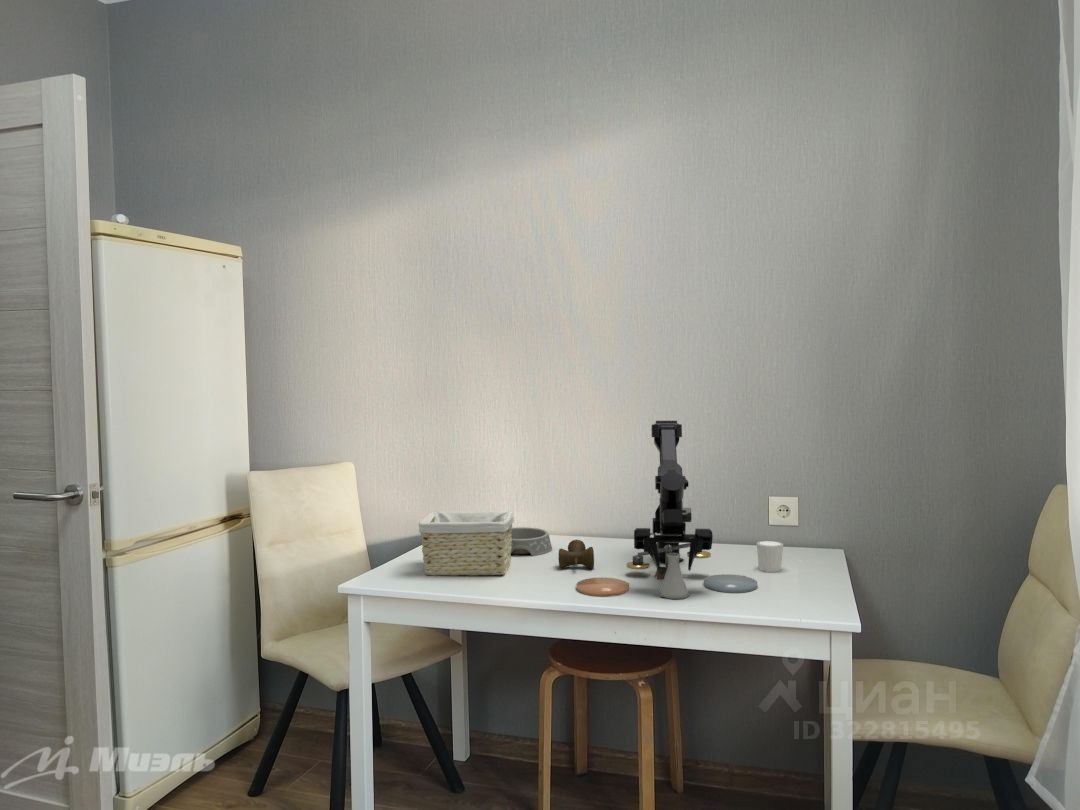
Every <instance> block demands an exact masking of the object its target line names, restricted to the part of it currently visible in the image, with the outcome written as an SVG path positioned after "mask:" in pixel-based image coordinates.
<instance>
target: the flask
mask: <svg viewBox="0 0 1080 810" xmlns="http://www.w3.org/2000/svg"><path fill="white" fill-rule="evenodd" d="M667 556H668V567H667V571H666V574H665V577H664V580H662V583H661V586H660V589H659V591H658V595H659V596H660V597H661V598H666V599H670V600H671V599H672V600H673V599H675V600H676V599H685V598H688V597H689V596H690V595H689V591H688V589H687V586H686V583H685V580H684V577H683V574H682V573H683V572H682V571H681V566H680V561H679V558H681V553H680V552H679V553H668V554H667Z"/></svg>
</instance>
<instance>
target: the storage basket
mask: <svg viewBox="0 0 1080 810" xmlns="http://www.w3.org/2000/svg"><path fill="white" fill-rule="evenodd" d="M514 521H515V517H514V513H513V512H512V511H511V510H509V511H445V510H444V511H440V510H434V511H431V512H429V514H427V515H425V517H423V518H422V519H421V520H420V521H419V522H418V532H419V534H420V535H421V536H420V537H421V547H422V548H421V552H422V555H423V556H422V560H423V568H424V574H425V575H426V576H434V577H438V576H454V577H455V576H456V577H457V576H474V577H475V576H495V575H496V576H498V575H499V576H501V575H505V574H506V573H507V571H508V569H509V567H510V565H511V563H512V561H511V559H512V558H511V557H512V555H511V554H512V553H511V542H512V538H511V536H512V534H511V532H512V528H513V523H514Z"/></svg>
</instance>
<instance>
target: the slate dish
mask: <svg viewBox="0 0 1080 810" xmlns="http://www.w3.org/2000/svg"><path fill="white" fill-rule="evenodd" d="M703 587H705V588H706V589H708V590H710V591H714V592H720V593H727V594H744V593H751V592H754V591H755V590H757V589H758V581H757V580H756V579H755V578H752V577H749V576H745V575H740V574H713V575H709V576H706V577H704V579H703Z"/></svg>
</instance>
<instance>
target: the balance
mask: <svg viewBox="0 0 1080 810" xmlns="http://www.w3.org/2000/svg"><path fill="white" fill-rule="evenodd" d="M686 548H690V543H682V544H679V545H676V546H671V545H666V546H665V547H664V548H660V549H657V550H658V553H660V552H666V563H665V566H660V570H658V569H657V568H656V580H662V581H663V580H664V577H665V574H666V571H667V567H668V556H667V554H668V553H671V552H672V550H676V549H679V550H680V549H686ZM689 552H690V550H689V551H687V553H686V556H687V557H688V558H689ZM647 555H648V556H650V555H649V553H648V552H644V551H638V552H637V554H636V555H633V556H632V561H628V562H627V563H626V568H628V569H631V570H646V569H649V568H650V563H649V562H646V561H644V556H647ZM710 557H712V553H711V552H710V551H708V550H702V552H700V553H697V555H696V557H695V558H694V559H708V558H710Z"/></svg>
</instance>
